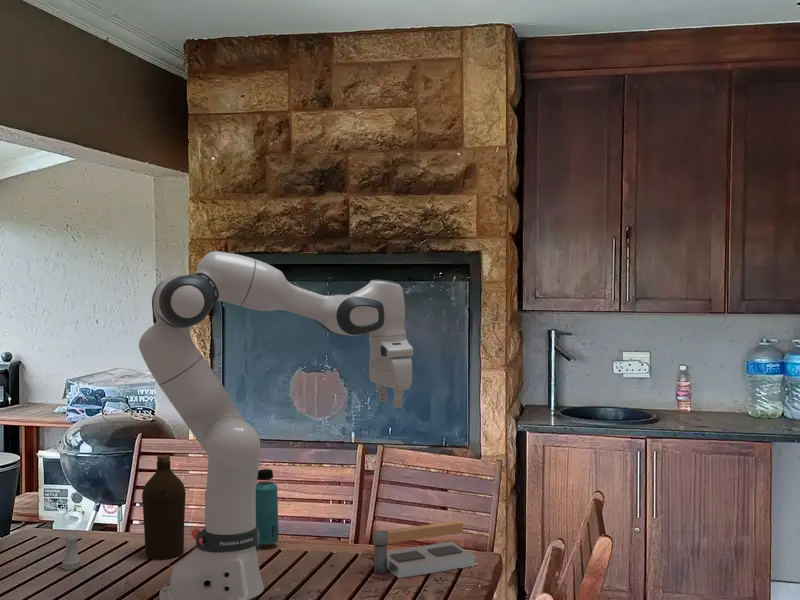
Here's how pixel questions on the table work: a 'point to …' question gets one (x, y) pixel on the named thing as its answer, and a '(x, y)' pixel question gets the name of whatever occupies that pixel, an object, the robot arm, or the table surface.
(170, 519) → the olive oil
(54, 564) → the table surface
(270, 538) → the beverage bottle
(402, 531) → the swing bar
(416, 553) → the block
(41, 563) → the table surface
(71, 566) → the rook chess piece
